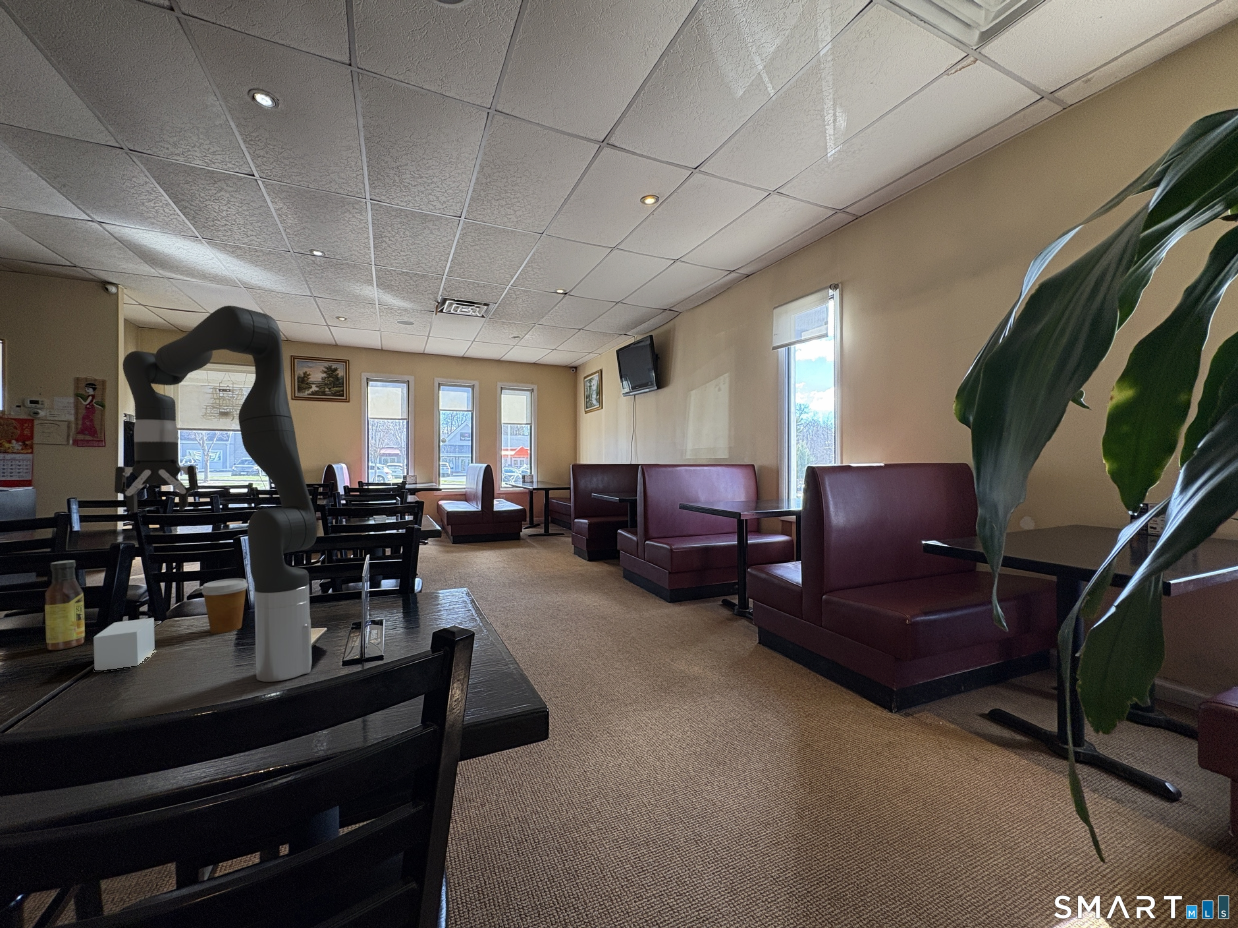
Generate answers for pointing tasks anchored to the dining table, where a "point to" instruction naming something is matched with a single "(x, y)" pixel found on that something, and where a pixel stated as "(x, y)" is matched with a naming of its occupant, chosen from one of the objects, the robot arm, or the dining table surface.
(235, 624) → the disposable coffee cup
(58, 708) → the dining table surface
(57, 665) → the dining table surface
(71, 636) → the sauce bottle
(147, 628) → the white angular block
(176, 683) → the dining table surface
